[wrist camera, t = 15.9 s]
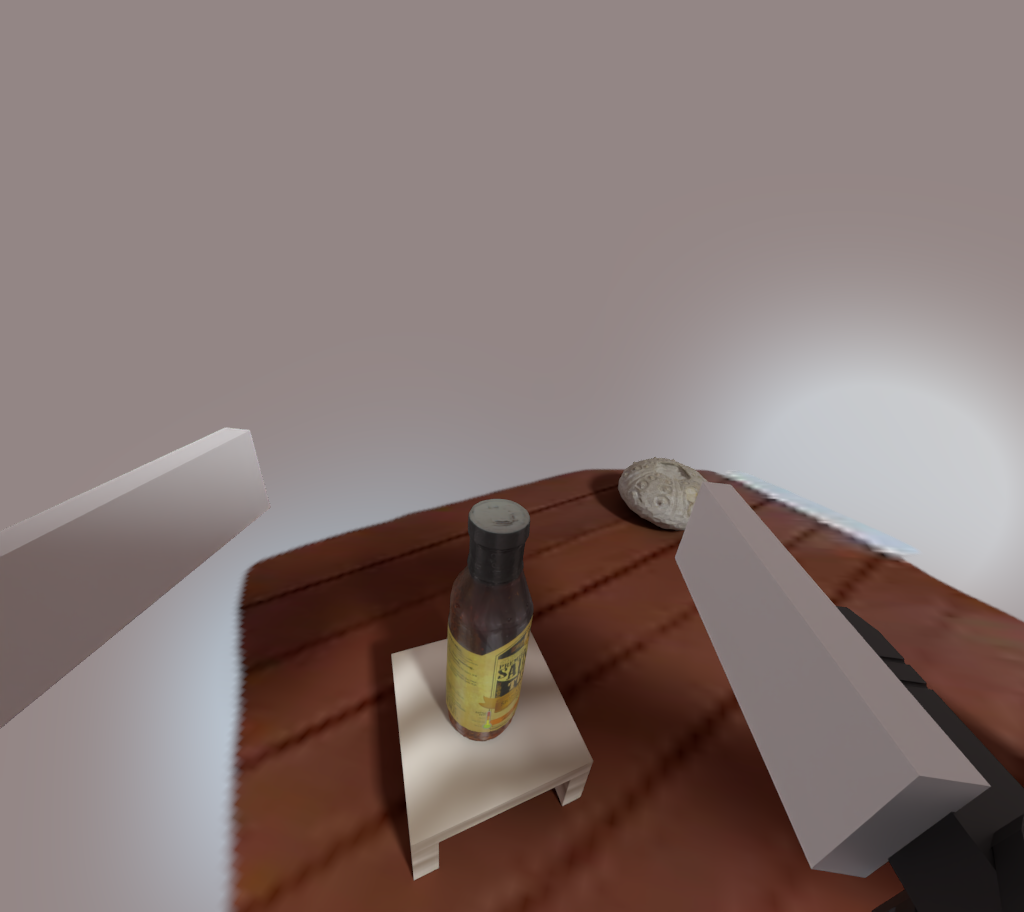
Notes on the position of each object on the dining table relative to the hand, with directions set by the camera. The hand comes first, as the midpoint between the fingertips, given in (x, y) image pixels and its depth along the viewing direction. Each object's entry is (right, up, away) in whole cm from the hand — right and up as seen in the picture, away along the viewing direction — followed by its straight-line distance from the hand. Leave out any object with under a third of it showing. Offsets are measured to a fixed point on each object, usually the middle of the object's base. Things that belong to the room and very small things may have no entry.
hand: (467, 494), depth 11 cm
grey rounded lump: (+30, -10, +61) cm, 69 cm away
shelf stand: (-2, -26, +24) cm, 35 cm away
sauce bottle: (-1, -21, +21) cm, 30 cm away
